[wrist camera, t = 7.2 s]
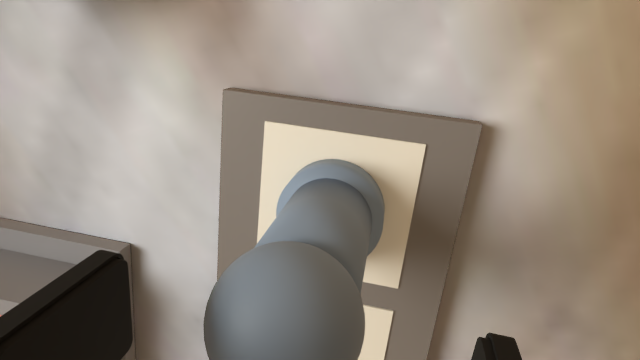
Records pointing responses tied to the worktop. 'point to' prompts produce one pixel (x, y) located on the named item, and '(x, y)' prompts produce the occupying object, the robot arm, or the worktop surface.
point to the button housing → (46, 261)
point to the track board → (389, 173)
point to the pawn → (302, 273)
